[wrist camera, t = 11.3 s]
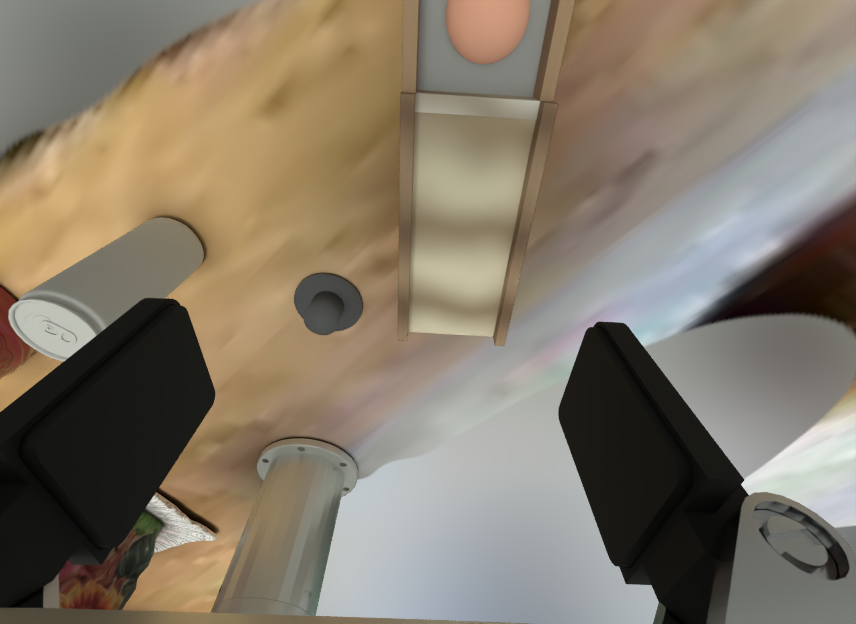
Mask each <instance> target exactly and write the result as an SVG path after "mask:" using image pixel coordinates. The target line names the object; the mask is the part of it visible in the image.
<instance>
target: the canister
mask: <svg viewBox="0 0 856 624" xmlns="http://www.w3.org/2000/svg"><path fill="white" fill-rule="evenodd" d="M16 302H17V301H16V300H15V299H14V298H13V297H12V296H11V295H10V294H9V293H7V292H6V291H5V290H4V289H2V288H1V287H0V379H1V378H2V377H4V376H7V375H9V374H11V373H13V372H14V371H15V370H16V369H17V368H19V367H20V366H22V365H23V364H24V363H25V362H26V361H27V359H28V358H29V356H30V355H31V354H32V353H33V352H34V351H35V349H34V348H32V347H31V346H29V345H28V344H27V343H25V342H24V341H23V340H22V339H21V338H20V337H19V336H18V335H17V334H16V332H15V331H14V329H13V328H12V326H11V324H10V321H9V318H8V316H9V309H10V308H11V307H12V305H13V304H14V303H16Z"/></svg>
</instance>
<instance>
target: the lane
mask: <svg viewBox="0 0 856 624" xmlns="http://www.w3.org/2000/svg"><path fill="white" fill-rule="evenodd" d="M557 108H558V104H557V103H555V102H550V101H539V100H537V99H535V98H533V97H520V96H505V95H490V94H475V93H459V92H444V91H429V90H417V91H416V93H413V92H402V93H401V97H400V186H399V274H398V340H405V341H407V338H408V332H420V333H437V334H455V335H473V336H491V337H493V339H494V344H495V346H504V345H505V341H506V336H507V332H508V327H509V323H510V318H511V314H512V309H513V305H514V301H515V296H516V292H517V287H518V283H519V278H520V274H521V269H522V265H523V260H524V256H525V251H526V247H527V242H528V238H529V233H530V229H531V225H532V220H533V216H534V211H535V207H536V202H537V198H538V193H539V189H540V184H541V180H542V175H543V171H544V166H545V162H546V158H547V153H548V149H549V144H550V140H551V135H552V131H553V126H554V122H555V117H556V113H557Z"/></svg>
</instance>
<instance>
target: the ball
mask: <svg viewBox="0 0 856 624" xmlns="http://www.w3.org/2000/svg"><path fill="white" fill-rule="evenodd" d="M529 14H530V0H448V2H447V7H446V26H447V31H448V34H449V37H450V40H451V42H452V44H453V46H454V47H455V49H456V50H457V51H458V53H459V54H460V55H461V56H463V57H464V58H465V59H467V60H469V61H471V62H473V63H476V64H491V63H495V62H498V61H500V60H502V59H503V58H505V57H506V56H508V55H509V54H510V53H511V52H512V51H513V50H514V49H515V48H516V47H517V45H518V44H519V42H520V41H521V39H522V37H523V35H524V33H525V31H526V28H527V25H528V20H529Z"/></svg>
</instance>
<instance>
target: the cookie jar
mask: <svg viewBox="0 0 856 624" xmlns="http://www.w3.org/2000/svg"><path fill="white" fill-rule="evenodd" d="M216 537H217V534H216V533H213V532H212V531H211V530H210V529H208V528H207V527H206V526H204V525H202V524H200V523H198V522H195V521H192V520H190V519H189V518H188V517H187V516H186V515H185V514H184V513H182V512H181V511H180V510H179V508H178V507H177V506H175V505H174V504H172V503H171V502H170V501H168V500H167V499H165V498H164V497H163V496H161V495H160V494H158V493H157V492H156V493H155V494H154V496H153V498H152V499H151V501H150V502H149V504H148V505H147V507H146V508H145V510H144V511H143V513H142V514H141V516H140V518H139V519H138V521H137V522H136V524H135V525H134V527H133V528H132V530H131V531H130V533H129V534H128V536H127V537H126V539H125V540H124V541H123V542H122V543H121V544H120V545H119V546H117V547H115V548H113V549H112V550H111V552H110V553H109V555H108V556H107V558H106V559H105V561H104V562H103V564H102V565H73V564H71V563H70V562H69V561H67V562H66V564H65V565H64V566H63V568H62V569H61V570H60V572H59V608H60V609H94V610H122V609H123V607H124V606H125V604H126V602H127V601H128V600H129V598H130V597H131V595H132V594H133V592H134V590H135V589H136V583H137V579H138V577H139V575H140V574H141V573H142V572H143V571H144V570H145V569H146V568H147V567H148V566H149V562H150V560H151V558H152V556H153V554H154V553H156V552H160V551H163V550H166V549H169V548H171V547H175V546H179V545H182V544H184V543H187V542H194V541H201V540H207V541H213V540H215V539H216Z"/></svg>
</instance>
